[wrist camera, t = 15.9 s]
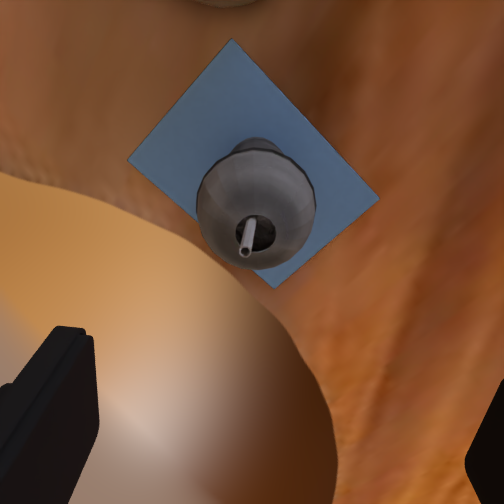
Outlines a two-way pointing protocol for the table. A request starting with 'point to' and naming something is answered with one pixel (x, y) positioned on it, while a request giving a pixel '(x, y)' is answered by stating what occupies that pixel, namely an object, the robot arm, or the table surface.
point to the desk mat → (238, 129)
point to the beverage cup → (255, 206)
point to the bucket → (225, 3)
